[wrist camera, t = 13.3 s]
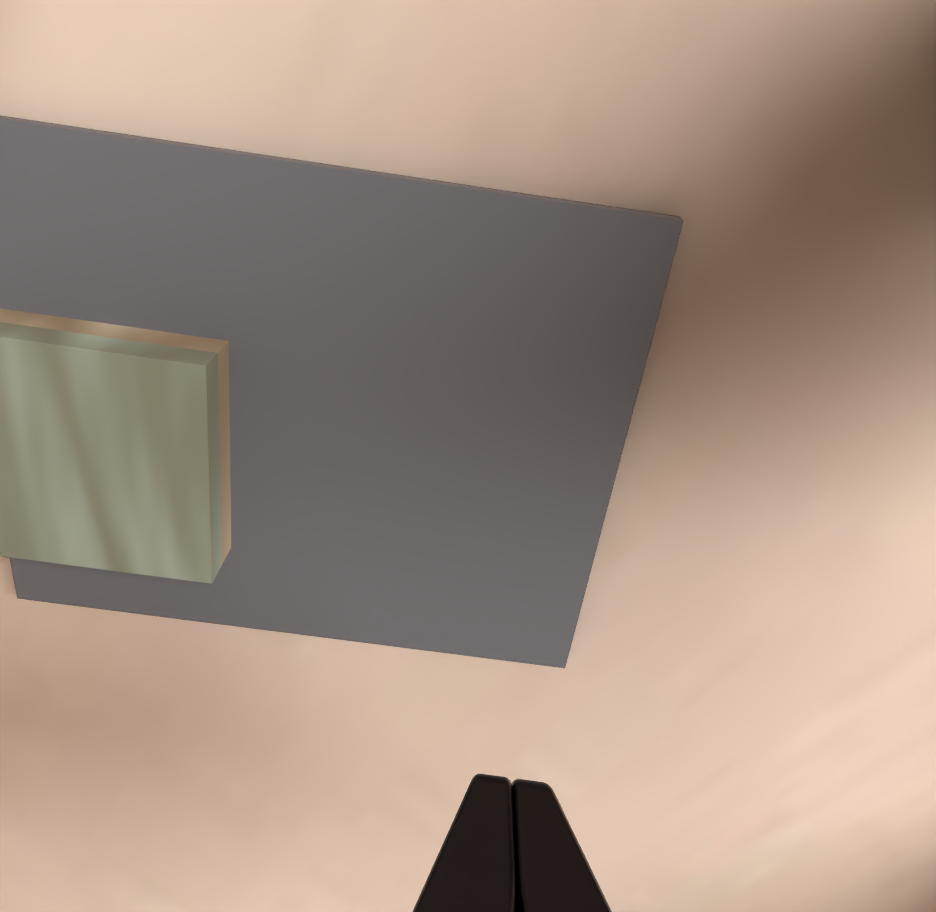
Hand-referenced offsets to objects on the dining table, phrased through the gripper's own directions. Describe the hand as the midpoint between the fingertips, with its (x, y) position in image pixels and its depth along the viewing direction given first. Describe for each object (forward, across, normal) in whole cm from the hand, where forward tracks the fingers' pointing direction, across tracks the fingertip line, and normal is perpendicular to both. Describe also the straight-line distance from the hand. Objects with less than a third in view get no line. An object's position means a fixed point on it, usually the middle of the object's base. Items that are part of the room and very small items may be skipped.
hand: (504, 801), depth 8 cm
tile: (+10, +7, +3) cm, 13 cm away
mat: (+12, +5, +2) cm, 13 cm away
